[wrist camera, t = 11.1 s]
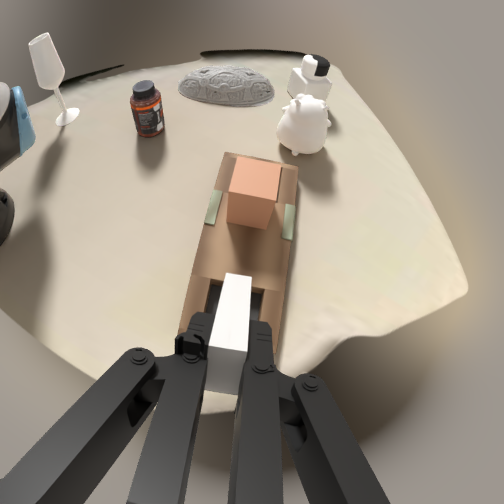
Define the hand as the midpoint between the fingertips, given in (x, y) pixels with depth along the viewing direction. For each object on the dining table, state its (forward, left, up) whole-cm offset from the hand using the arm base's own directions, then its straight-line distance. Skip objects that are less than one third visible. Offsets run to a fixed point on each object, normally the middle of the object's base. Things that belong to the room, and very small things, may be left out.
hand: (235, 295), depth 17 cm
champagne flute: (-48, +39, -24) cm, 67 cm away
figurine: (+7, +38, -24) cm, 46 cm away
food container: (-11, +54, -25) cm, 60 cm away
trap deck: (0, +14, -24) cm, 28 cm away
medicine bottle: (+8, +56, -24) cm, 61 cm away
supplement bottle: (-23, +36, -24) cm, 49 cm away
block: (0, +19, -21) cm, 28 cm away
